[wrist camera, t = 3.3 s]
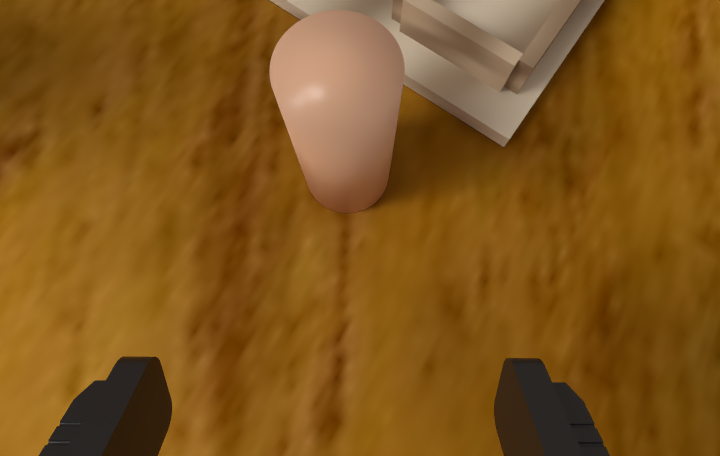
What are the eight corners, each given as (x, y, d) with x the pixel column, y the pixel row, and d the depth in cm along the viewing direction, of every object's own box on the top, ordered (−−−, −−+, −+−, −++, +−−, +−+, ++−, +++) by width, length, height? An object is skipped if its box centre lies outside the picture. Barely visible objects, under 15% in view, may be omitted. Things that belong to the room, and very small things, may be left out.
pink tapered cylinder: (289, 182, 25) (242, 83, 15) (338, 119, 26) (322, -13, 16) (357, 229, 24) (353, 157, 15) (405, 163, 25) (431, 53, 16)
